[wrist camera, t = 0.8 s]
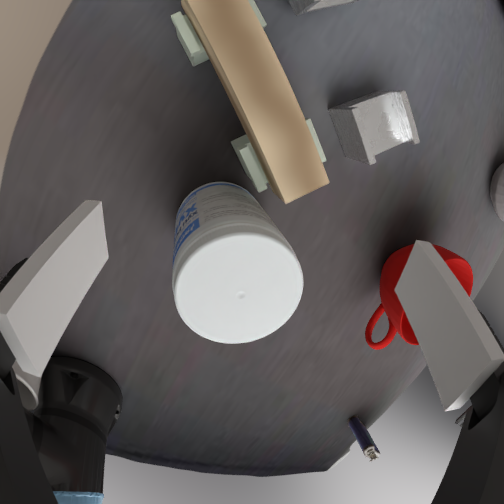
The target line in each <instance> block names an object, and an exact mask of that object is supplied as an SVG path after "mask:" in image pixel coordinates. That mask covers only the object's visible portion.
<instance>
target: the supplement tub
mask: <svg viewBox="0 0 504 504" xmlns="http://www.w3.org/2000/svg"><path fill="white" fill-rule="evenodd" d="M172 285H173V293H174V299H175V304H176V307H177V310H178V312H179V314H180V316H181V318H182V319H183V321H184V322H185V323H186V324H187V325H188V326H189V327H190V328H191V329H192V330H193V331H194V332H196V333H197V334H199V335H201V336H202V337H204V338H207V339H209V340H212V341H216V342H221V343H245V342H250V341H254V340H257V339H260V338H262V337H264V336H266V335H269V334H270V333H272V332H274V331H275V330H277V329H278V328H279V327H281V326H282V325H283V324H284V323H285V322H286V321H287V320H288V319H289V318H290V317H291V315H292V314H293V312H294V311H295V309H296V308H297V306H298V303H299V301H300V299H301V295H302V291H303V273H302V269H301V266H300V263H299V261H298V260H297V257H296V255H295V253H294V251H293V249H292V247H291V246H290V245H289V243H288V242H287V240H286V239H285V237H284V236H283V235H282V233H281V232H280V231H279V229H278V228H277V227H276V226H275V224H274V223H273V222H272V220H271V219H270V218H269V216H268V215H267V213H266V212H265V211H264V210H263V208H262V207H261V206H260V204H259V203H258V202H257V200H256V199H255V198H254V197H253V196H252V195H251V194H250V193H249V192H248V191H247V190H246V189H244V188H242V187H241V186H239V185H236V184H233V183H229V182H212V183H208V184H205V185H203V186H200V187H198V188H197V189H195V190H194V191H192V192H191V193H190V194H189V195H188V196H187V197H186V198H185V199H184V201H183V202H182V204H181V205H180V208H179V210H178V213H177V216H176V224H175V238H174V254H173V274H172Z"/></svg>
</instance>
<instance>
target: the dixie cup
mask: <svg viewBox="0 0 504 504" xmlns="http://www.w3.org/2000/svg"><path fill="white" fill-rule="evenodd" d="M12 368H13V370H14V372H15V375H16V380H17V384H18V389H19V393H20V397H21V401H22V405H23V407H24V408H26V409H27V410H28V411H30V410H33V409H35V408H36V407H37V405H38V393H39V388H40V383H41V378H42V375H41V377H38V376H35V375H32V374H29V373H27V372H24V371H23V370H22V369H21V367H20V366H19V364H18V362H17V361H16V360H15V362H14V364H13V366H12Z"/></svg>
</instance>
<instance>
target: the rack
mask: <svg viewBox="0 0 504 504" xmlns="http://www.w3.org/2000/svg"><path fill="white" fill-rule="evenodd" d="M248 1H249V3H250V5H251V7H252V9H253V11H254V12H255V14H256V16H257V18H258V20H259V22H260V24H261V26H262V28H264V27H265V26H266V25H267V24H266V22H265V20H264V18H263V17H262V15H261V13H260V11H259V9H258V7H257V5H256V4H255V2H254V0H248ZM171 19H172V22H173V24H174V26H175V28H176V32H177V37H178V39H179V41H180V43H181V44H182V46H183V48H184V50H185V52H186V54H187V56H188V58H189V60H190V62H191V64H192V66H193V67H194V66H196V65H198V64H200V63H203V62H205V61H207V60H209V57H208V55H207V53H206V51H205V49H204V47H203V46H202V44H201V42H200V40H199V38H198V36H197V34H196V32H195V30H194V28H193V26H192V25H191V23H190V21H189V19H188V17H187V15H183V16H182V14H181V12H177V13H175V14H173V15H171ZM305 121H306V123H307V125H308V128H309V130H310V133H311V135H312V138H313V140H314V143H315V145H316V148H317V151H318V153H319V156H320V158H321V161H322V162H324V161H326V158H325V155H324V153H323V150H322V147H321V145H320V142H319V140H318V137H317V135H316V132H315V130H314V127H313V125H312V122H311V120H310V119H306V118H305ZM231 144H232V146H233V148H234V150H235V152H236V154H237V156H238V158H239V160H240V162H241V165H242V167H243V169H244V171H245V173H246V175H247V176H248V177H249V178H250V179H251V180H252V182H253V184H254V187H255V189H256V190H257V191H258V192H261V191H263V190H265V189H267V186H266V183H268V180H267V178H266V176H265V173H264V171H263V169H262V167H261V165H260V162H259V160H258V158H257V156H256V154H255V152H254V149H253V147H252V145H251V143H250V141H249V139H248V137H247V134H246V135H243V136H241V137H239V138H237V139H235V140H233V141H231Z"/></svg>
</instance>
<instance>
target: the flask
mask: <svg viewBox="0 0 504 504" xmlns="http://www.w3.org/2000/svg"><path fill="white" fill-rule="evenodd" d="M348 425H349V426H350V428H351V430H352V432H353V434H354V435H355V437H356V439H357V441H358V443H359V445H360V447H361V449H362V451H363V453H364V455H365V456H366V457H368V458H371V461H370V462H372V460H375V459H378V456H379V455H380V452H379V450H378V448H377V447H376V445H375V443H374V442H373V440H372V438H371V436H370V434H369V432H368V431H367V429H366V427H365V425H363V424H362V422H361V421H360V420H359V419H358V417H357V416H353V417H351V418H349V419H348Z"/></svg>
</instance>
